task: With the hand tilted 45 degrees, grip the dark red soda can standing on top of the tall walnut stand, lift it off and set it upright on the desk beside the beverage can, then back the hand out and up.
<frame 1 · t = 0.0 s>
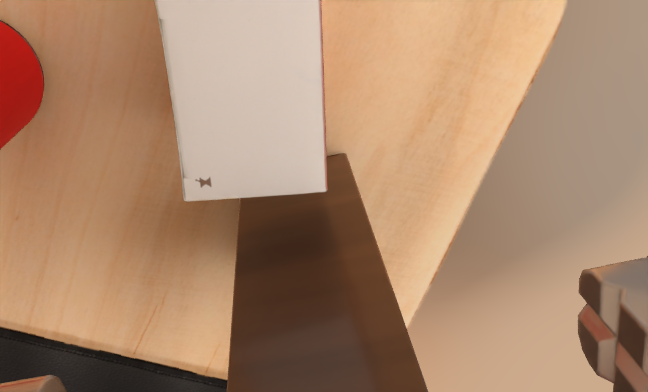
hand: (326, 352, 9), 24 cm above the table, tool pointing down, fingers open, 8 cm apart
walnut stand: (303, 209, 35), on the table
small box: (251, 40, 30), on the table
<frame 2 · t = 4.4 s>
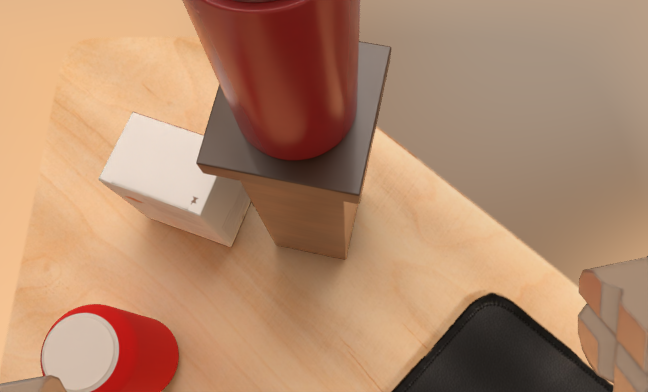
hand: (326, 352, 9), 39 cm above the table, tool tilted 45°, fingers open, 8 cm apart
soda can: (295, 103, 29), point 22 cm above the table, touching walnut stand
walnut stand: (318, 218, 50), on the table
small box: (202, 204, 51), on the table
beverage can: (145, 358, 47), on the table
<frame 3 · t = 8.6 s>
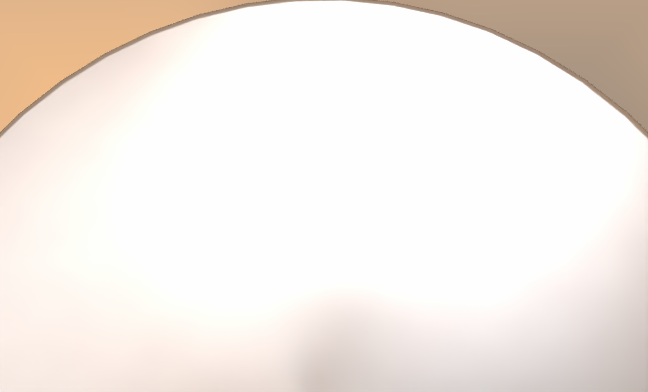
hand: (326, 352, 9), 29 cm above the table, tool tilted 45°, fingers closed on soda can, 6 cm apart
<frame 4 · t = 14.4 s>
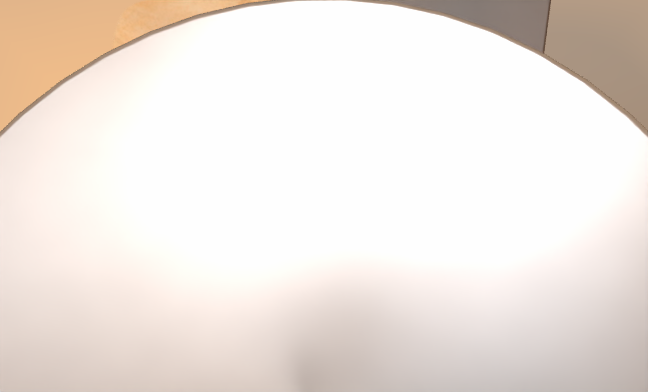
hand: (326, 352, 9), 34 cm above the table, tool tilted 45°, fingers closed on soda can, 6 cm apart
walnut stand: (404, 190, 45), on the table
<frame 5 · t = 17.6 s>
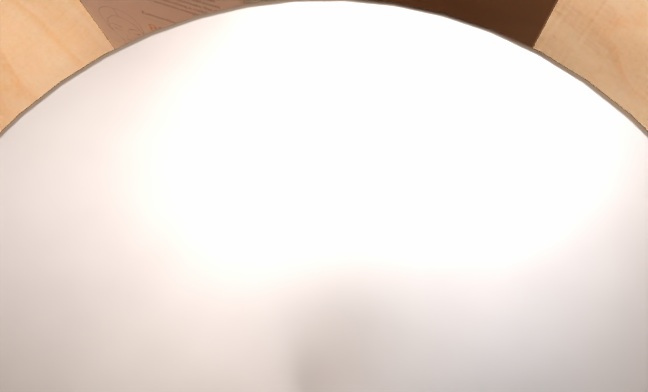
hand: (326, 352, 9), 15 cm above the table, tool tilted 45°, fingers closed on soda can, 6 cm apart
walnut stand: (433, 57, 27), on the table
small box: (220, 38, 28), on the table
when the fingers open (6 cm above the table, at t = 20.1 s): soda can stays where it is, on the table.
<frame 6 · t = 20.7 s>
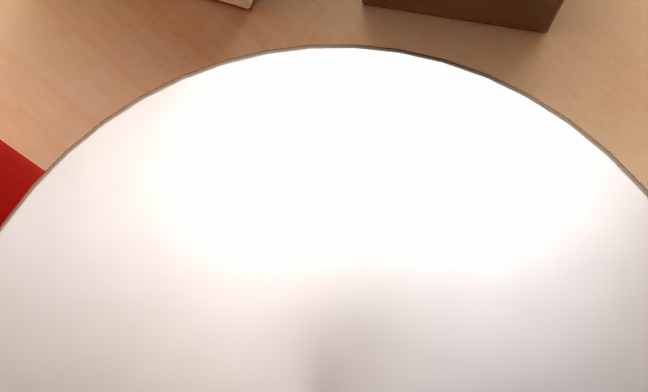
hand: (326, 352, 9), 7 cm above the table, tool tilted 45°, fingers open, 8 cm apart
beverage can: (15, 282, 17), on the table
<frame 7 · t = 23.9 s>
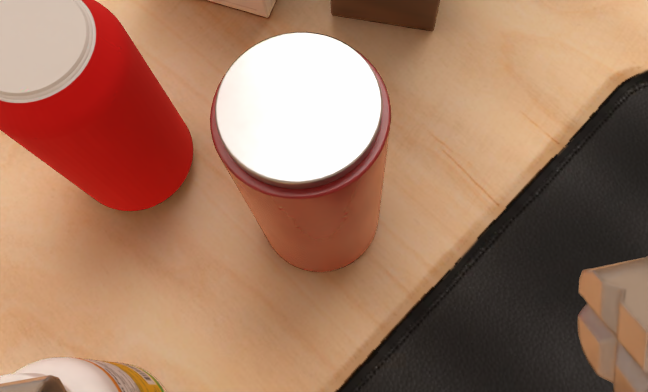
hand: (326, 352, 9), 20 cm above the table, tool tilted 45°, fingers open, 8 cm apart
soda can: (320, 215, 31), on the table
beverage can: (144, 164, 33), on the table
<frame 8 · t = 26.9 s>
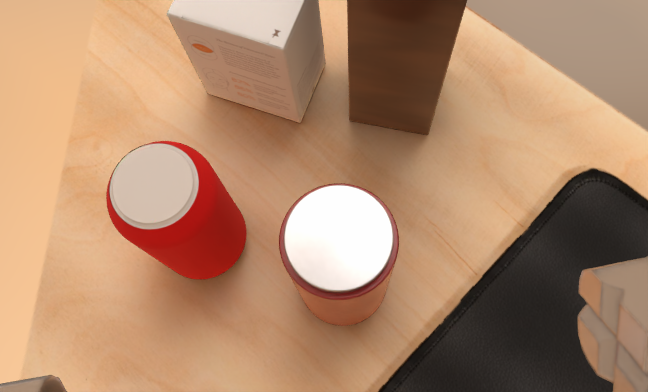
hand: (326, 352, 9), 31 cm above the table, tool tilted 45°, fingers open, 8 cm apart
soda can: (342, 281, 41), on the table
walnut stand: (395, 92, 45), on the table
small box: (266, 80, 46), on the table
beverage can: (207, 239, 43), on the table
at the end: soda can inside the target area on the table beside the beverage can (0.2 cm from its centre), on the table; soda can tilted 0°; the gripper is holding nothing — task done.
